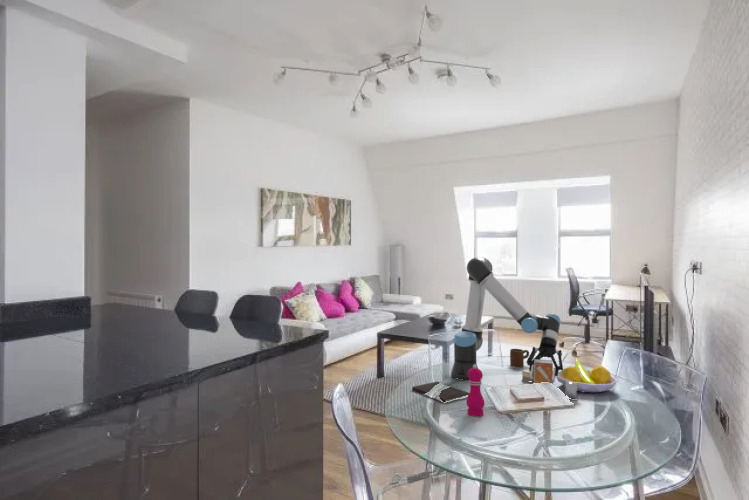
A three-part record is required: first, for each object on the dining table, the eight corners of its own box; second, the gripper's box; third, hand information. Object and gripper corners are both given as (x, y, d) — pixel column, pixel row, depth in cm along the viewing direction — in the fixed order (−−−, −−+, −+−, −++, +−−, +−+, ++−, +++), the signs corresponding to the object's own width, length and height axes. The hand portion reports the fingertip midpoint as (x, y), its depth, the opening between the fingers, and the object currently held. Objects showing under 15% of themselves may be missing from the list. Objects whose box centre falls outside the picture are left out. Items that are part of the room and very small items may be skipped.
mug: (525, 363, 253) (525, 347, 253) (532, 366, 245) (532, 350, 246) (507, 364, 250) (507, 348, 250) (514, 367, 243) (514, 351, 243)
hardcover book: (437, 386, 210) (436, 381, 210) (470, 398, 190) (470, 393, 190) (412, 391, 201) (412, 386, 201) (445, 405, 182) (445, 399, 182)
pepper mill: (485, 411, 172) (484, 363, 172) (483, 418, 165) (483, 367, 166) (467, 409, 174) (467, 361, 175) (465, 415, 167) (465, 365, 168)
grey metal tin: (570, 400, 185) (570, 385, 185) (562, 397, 190) (562, 381, 190) (579, 399, 186) (579, 384, 187) (571, 396, 191) (571, 381, 191)
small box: (534, 389, 200) (534, 361, 200) (534, 385, 206) (534, 358, 206) (553, 390, 198) (553, 363, 198) (551, 386, 204) (551, 360, 204)
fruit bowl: (617, 401, 185) (617, 375, 185) (551, 391, 198) (551, 367, 198) (617, 384, 209) (616, 362, 209) (558, 377, 222) (558, 356, 223)
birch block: (530, 382, 213) (530, 372, 214) (522, 380, 218) (522, 370, 218) (536, 380, 216) (536, 371, 216) (528, 378, 220) (528, 369, 221)
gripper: (573, 347, 209) (567, 387, 195) (528, 342, 221) (519, 379, 208) (571, 338, 204) (565, 378, 191) (525, 334, 217) (516, 371, 203)
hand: (541, 379), depth 199 cm, fingers closed on small box, 9 cm apart
